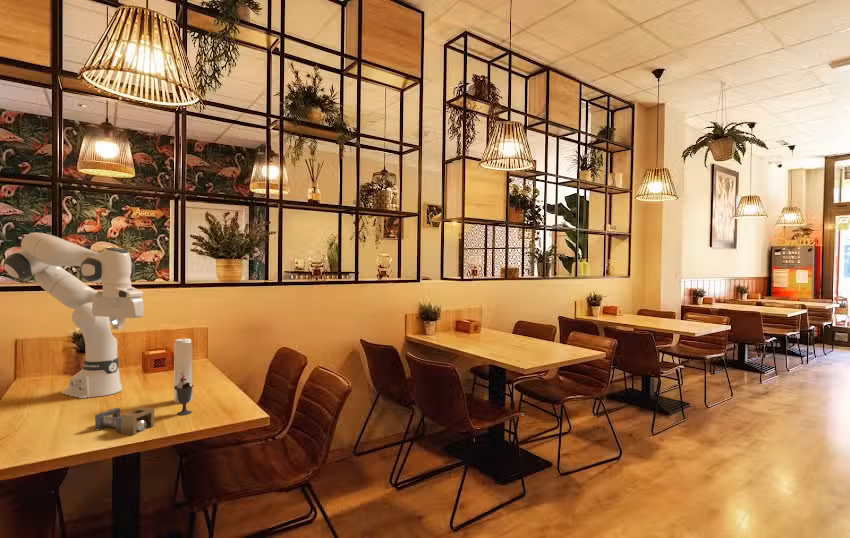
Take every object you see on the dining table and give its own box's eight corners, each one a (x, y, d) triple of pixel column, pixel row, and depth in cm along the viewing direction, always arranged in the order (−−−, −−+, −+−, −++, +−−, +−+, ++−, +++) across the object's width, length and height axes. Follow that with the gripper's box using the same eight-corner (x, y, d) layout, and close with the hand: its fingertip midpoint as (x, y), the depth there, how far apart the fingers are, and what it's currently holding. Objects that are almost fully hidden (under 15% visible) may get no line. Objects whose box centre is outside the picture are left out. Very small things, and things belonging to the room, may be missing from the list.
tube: (95, 426, 158) (95, 417, 158) (104, 423, 161) (104, 414, 161) (138, 432, 153) (138, 422, 153) (146, 428, 156) (146, 419, 156)
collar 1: (95, 429, 155) (95, 415, 155) (115, 422, 162) (115, 407, 162) (100, 430, 154) (100, 415, 154) (120, 422, 162) (120, 408, 162)
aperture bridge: (120, 433, 152) (120, 415, 152) (142, 424, 160) (142, 407, 160) (133, 435, 151) (133, 416, 151) (154, 426, 159) (154, 408, 159)
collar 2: (115, 432, 153) (115, 417, 153) (135, 424, 160) (135, 410, 160) (120, 433, 152) (120, 418, 152) (140, 425, 160) (140, 410, 160)
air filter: (184, 404, 183) (184, 341, 182) (170, 402, 184) (170, 340, 183) (196, 399, 189) (196, 338, 188) (182, 397, 190) (182, 337, 190)
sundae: (178, 410, 175) (178, 371, 175) (197, 410, 176) (197, 371, 175) (170, 416, 169) (170, 375, 168) (189, 416, 169) (189, 375, 169)
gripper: (86, 291, 170) (87, 328, 171) (132, 293, 165) (132, 331, 166) (102, 290, 177) (102, 326, 177) (146, 292, 172) (146, 329, 172)
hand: (117, 329), depth 171 cm, fingers closed
